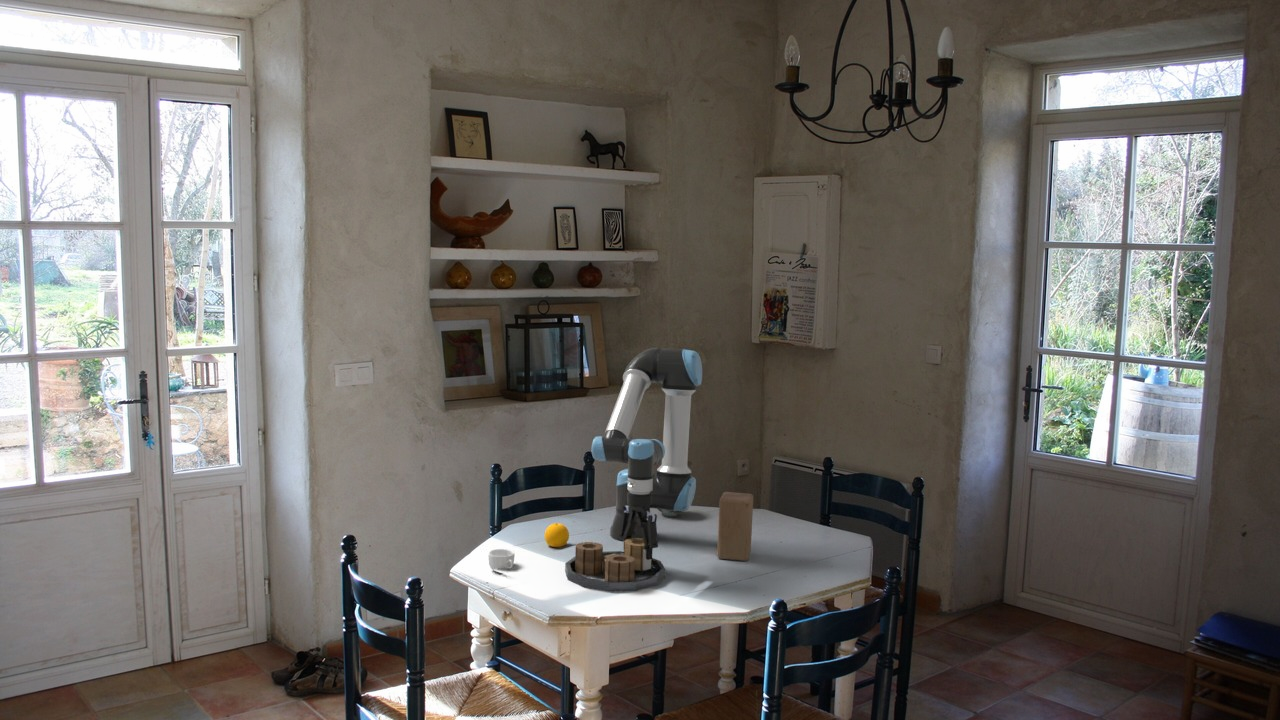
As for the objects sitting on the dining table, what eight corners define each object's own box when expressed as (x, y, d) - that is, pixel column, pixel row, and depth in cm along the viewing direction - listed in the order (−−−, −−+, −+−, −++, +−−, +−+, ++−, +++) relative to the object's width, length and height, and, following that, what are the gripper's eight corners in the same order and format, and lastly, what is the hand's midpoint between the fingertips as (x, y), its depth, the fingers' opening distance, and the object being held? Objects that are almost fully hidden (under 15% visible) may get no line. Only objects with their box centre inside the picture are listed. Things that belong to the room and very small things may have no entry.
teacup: (483, 568, 297) (483, 551, 296) (505, 564, 302) (505, 547, 301) (500, 577, 289) (501, 560, 289) (523, 573, 294) (523, 555, 294)
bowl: (649, 518, 360) (649, 496, 359) (654, 509, 373) (655, 488, 372) (686, 521, 358) (687, 499, 357) (690, 511, 371) (691, 491, 370)
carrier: (546, 575, 293) (547, 548, 292) (622, 558, 312) (623, 533, 311) (606, 603, 271) (607, 575, 270) (684, 583, 290) (685, 557, 289)
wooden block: (748, 562, 312) (750, 500, 310) (716, 559, 314) (719, 498, 312) (750, 553, 322) (753, 493, 319) (720, 550, 324) (723, 490, 321)
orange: (553, 550, 317) (554, 528, 316) (539, 544, 323) (540, 522, 322) (573, 546, 322) (574, 524, 322) (559, 540, 328) (559, 518, 327)
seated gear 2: (600, 585, 281) (601, 560, 280) (613, 577, 288) (613, 552, 287) (625, 590, 278) (626, 564, 277) (637, 582, 285) (638, 557, 284)
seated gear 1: (569, 570, 294) (570, 545, 293) (587, 564, 300) (588, 540, 299) (589, 576, 288) (589, 551, 288) (607, 570, 295) (608, 546, 294)
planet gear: (618, 564, 297) (619, 540, 296) (638, 560, 302) (639, 536, 301) (635, 572, 291) (636, 547, 290) (655, 567, 296) (656, 542, 295)
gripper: (608, 485, 300) (606, 558, 302) (652, 500, 284) (650, 577, 286) (627, 482, 304) (625, 554, 307) (672, 497, 289) (669, 572, 291)
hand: (637, 565), depth 297 cm, fingers closed on planet gear, 8 cm apart
